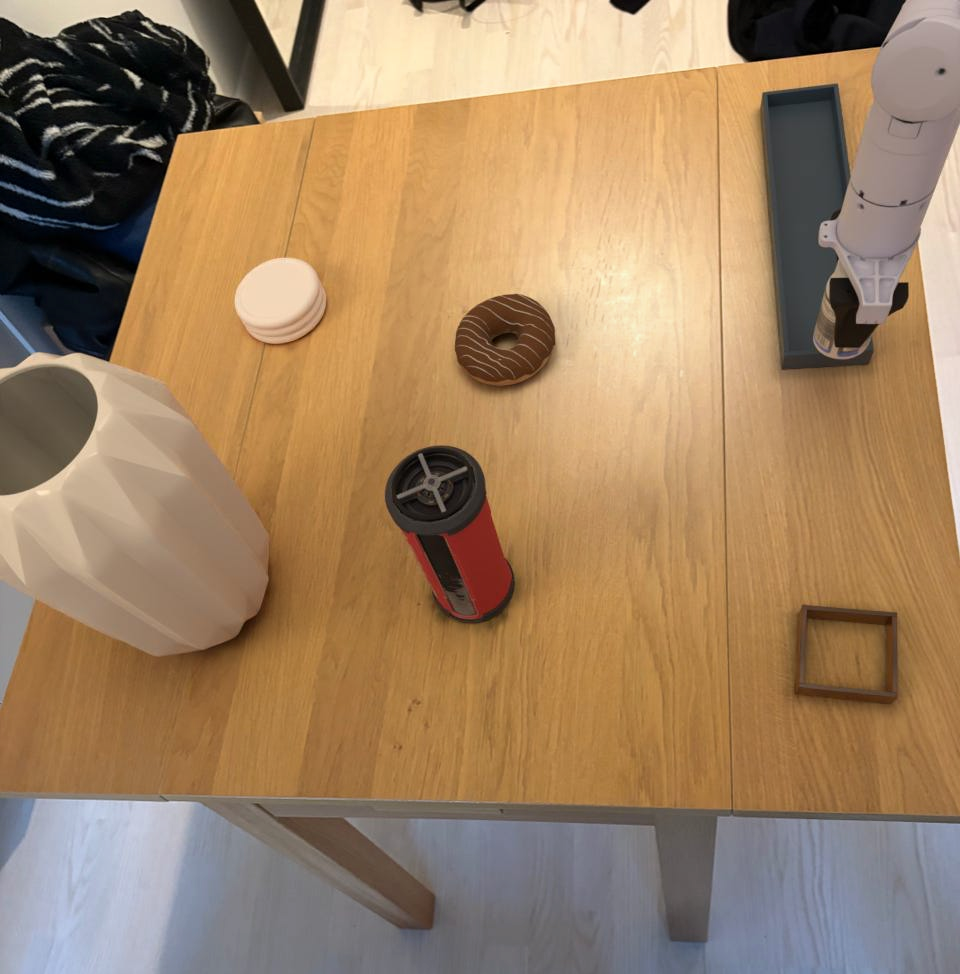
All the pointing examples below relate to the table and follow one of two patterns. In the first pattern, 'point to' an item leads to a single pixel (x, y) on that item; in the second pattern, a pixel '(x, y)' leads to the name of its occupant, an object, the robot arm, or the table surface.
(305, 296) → the pale pink macaron
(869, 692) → the brown wooden square frame
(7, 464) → the vase
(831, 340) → the pill bottle
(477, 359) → the donut
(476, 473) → the speaker
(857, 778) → the table surface
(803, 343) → the tray
